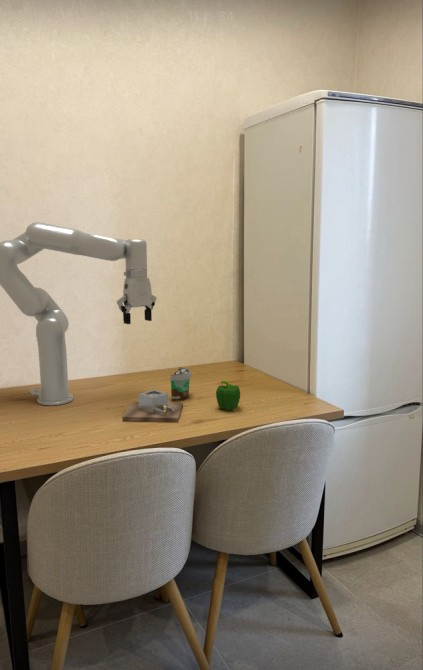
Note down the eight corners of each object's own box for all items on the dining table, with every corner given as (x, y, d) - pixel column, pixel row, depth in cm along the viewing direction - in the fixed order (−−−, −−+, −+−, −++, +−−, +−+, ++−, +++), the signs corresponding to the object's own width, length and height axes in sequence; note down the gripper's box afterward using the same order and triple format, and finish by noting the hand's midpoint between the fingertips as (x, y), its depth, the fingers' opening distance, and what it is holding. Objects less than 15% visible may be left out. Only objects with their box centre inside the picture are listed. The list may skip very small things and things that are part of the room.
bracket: (138, 409, 177) (138, 393, 176) (154, 404, 182) (154, 389, 181) (160, 417, 170) (160, 400, 169) (176, 411, 175) (176, 395, 174)
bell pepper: (245, 407, 184) (245, 379, 182) (232, 414, 177) (232, 385, 176) (224, 403, 189) (224, 376, 187) (211, 409, 182) (211, 381, 180)
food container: (187, 403, 189) (186, 376, 187) (170, 401, 190) (170, 375, 188) (195, 393, 201) (194, 367, 199) (179, 392, 202) (179, 366, 200)
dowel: (162, 413, 173) (162, 406, 173) (163, 412, 175) (163, 405, 174) (166, 413, 173) (166, 406, 173) (167, 412, 175) (166, 405, 174)
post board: (122, 421, 170) (121, 402, 169) (132, 405, 186) (131, 387, 185) (178, 422, 170) (177, 402, 168) (183, 406, 185) (182, 388, 184)
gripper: (123, 276, 178) (125, 326, 181) (161, 273, 191) (162, 320, 194) (110, 275, 183) (111, 323, 186) (148, 272, 196) (149, 318, 199)
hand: (137, 322), depth 190 cm, fingers open, 9 cm apart
